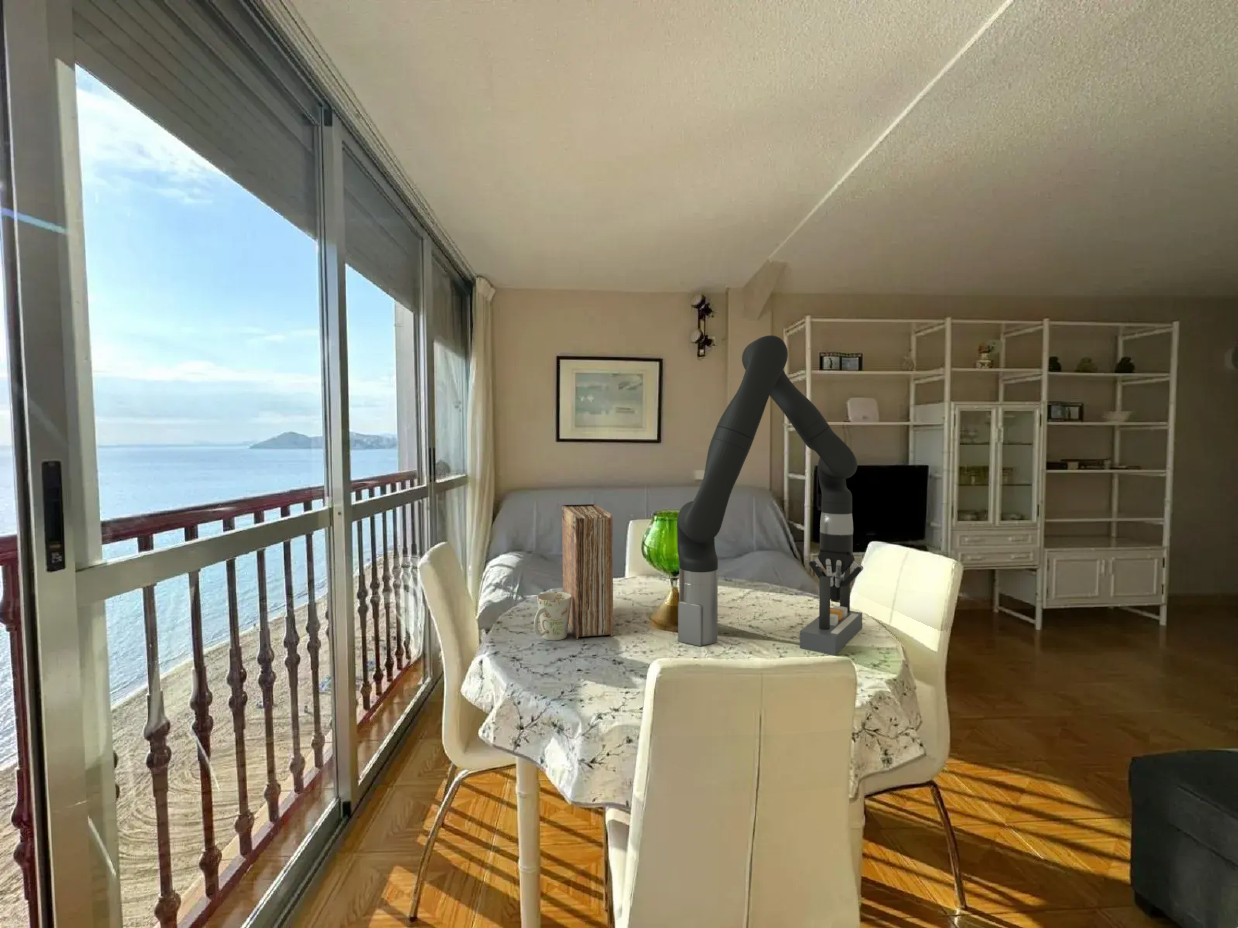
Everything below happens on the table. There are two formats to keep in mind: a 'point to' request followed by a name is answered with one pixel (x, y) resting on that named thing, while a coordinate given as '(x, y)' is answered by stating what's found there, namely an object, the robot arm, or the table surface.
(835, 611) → the orange paddle
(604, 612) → the book
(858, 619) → the switch panel
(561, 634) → the mug
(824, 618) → the post
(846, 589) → the post
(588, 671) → the table surface
